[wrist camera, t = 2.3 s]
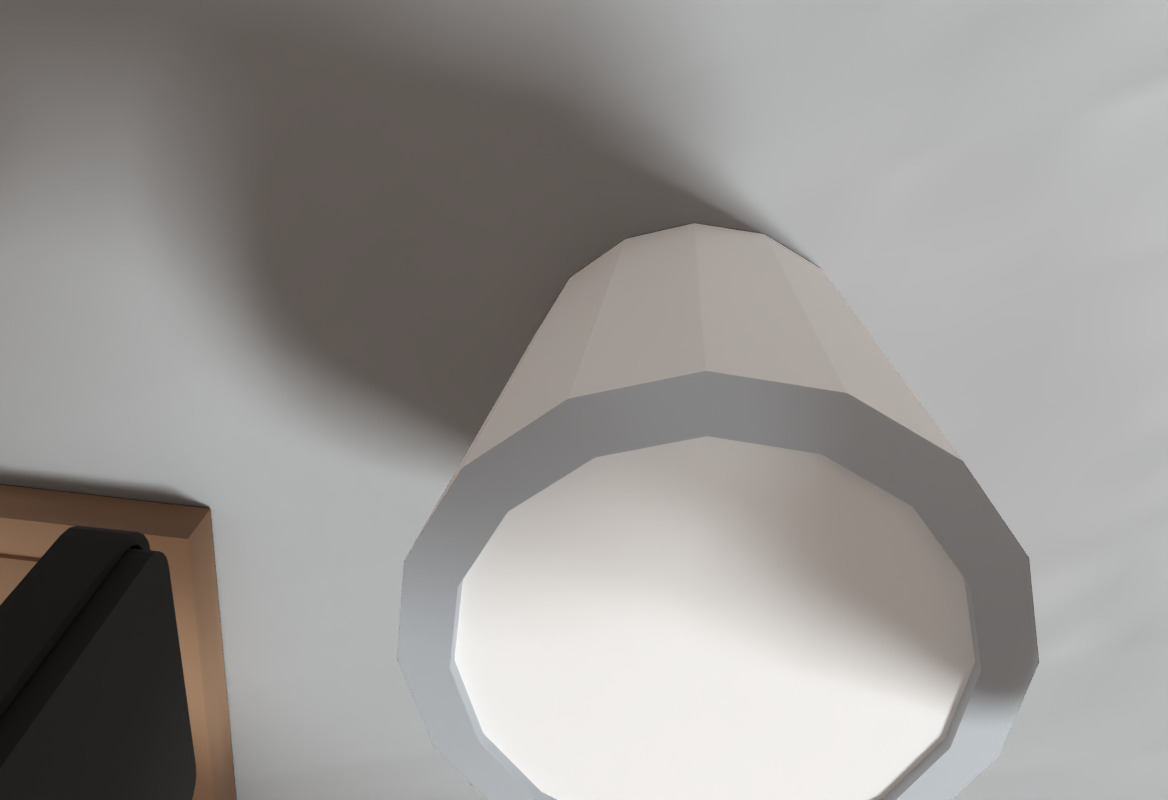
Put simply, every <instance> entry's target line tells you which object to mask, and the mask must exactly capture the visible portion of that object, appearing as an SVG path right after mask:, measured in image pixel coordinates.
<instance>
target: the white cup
mask: <svg viewBox="0 0 1168 800" xmlns="http://www.w3.org/2000/svg"><path fill="white" fill-rule="evenodd" d="M397 661H398V663H399V665H400V668H401V670H402V672H403V675H404V677H405V680H406V682H407V684H408V687H409V689H410V691H411V694H412V696H413V699H414V701H415V703H416V706H417V708H418V711H419V713H420V715H421V718H422V720H423V722H424V725H425V727H426V730H427V732H428V734H429V737H430V739H431V741H432V744H433V746H434V749H435V750H436V751H437V752H438V753H439V754H440V755H441V756H442V757H443V758H444V759H446V760H447V761H448V762H449V763H450V764H451V765H452V766H453V767H454V768H455V769H456V770H457V771H458V772H459V773H460V774H461V775H462V776H463V777H464V778H465V779H466V780H467V781H468V782H469V783H470V784H471V785H472V786H473V787H474V788H475V789H476V790H477V791H478V792H479V793H480V794H481V795H482V796H483V797H484V798H485V799H486V800H952V799H953V798H954V797H955V796H956V795H957V794H958V793H959V792H960V791H961V790H962V789H964V788H965V787H966V786H967V785H968V784H969V783H970V782H971V781H972V780H973V779H974V778H976V777H977V776H978V775H979V774H980V773H981V772H982V771H983V770H984V769H985V768H986V767H987V766H989V765H990V764H991V763H992V762H993V761H994V760H995V759H996V758H997V757H998V756H999V755H1000V752H1001V750H1002V748H1003V745H1004V743H1005V741H1006V738H1007V736H1008V734H1009V731H1010V729H1011V726H1012V724H1013V722H1014V719H1015V717H1016V715H1017V712H1018V710H1019V708H1020V705H1021V703H1022V701H1023V698H1024V696H1025V694H1026V691H1027V689H1028V687H1029V684H1030V682H1031V680H1032V677H1033V675H1034V673H1035V670H1036V668H1037V666H1038V663H1039V657H1038V647H1037V636H1036V626H1035V616H1034V605H1033V595H1032V584H1031V574H1030V564H1029V557H1028V556H1027V554H1026V553H1025V551H1024V550H1023V548H1022V547H1021V545H1020V544H1019V543H1018V541H1017V540H1016V538H1015V537H1014V535H1013V534H1012V532H1011V531H1010V529H1009V528H1008V526H1007V525H1006V523H1005V522H1004V521H1003V519H1002V518H1001V516H1000V515H999V513H998V512H997V510H996V509H995V507H994V506H993V504H992V503H991V502H990V500H989V499H988V497H987V496H986V494H985V493H984V491H983V490H982V488H981V487H980V485H979V484H978V483H977V481H976V480H975V478H974V477H973V475H972V474H971V472H970V471H969V469H968V468H967V466H966V465H965V463H964V462H963V461H962V459H961V458H960V456H959V455H958V454H957V452H956V451H955V450H954V448H953V447H952V446H951V444H950V443H949V441H948V440H947V439H946V437H945V436H944V435H943V433H942V432H941V431H940V429H939V428H938V426H937V425H936V424H935V422H934V421H933V420H932V418H931V417H930V415H929V414H928V413H927V411H926V410H925V409H924V407H923V406H922V405H921V403H920V402H919V400H918V399H917V398H916V396H915V395H914V394H913V392H912V391H911V390H910V388H909V387H908V385H907V384H906V383H905V381H904V380H903V379H902V377H901V376H900V374H899V373H898V372H897V370H896V369H895V368H894V366H893V365H892V364H891V362H890V361H889V359H888V358H887V357H886V355H885V354H884V353H883V351H882V350H881V349H880V347H879V346H878V344H877V343H876V342H875V340H874V339H873V338H872V336H871V335H870V333H869V332H868V331H867V329H866V328H865V327H864V325H863V324H862V323H861V321H860V320H859V318H858V317H857V316H856V314H855V313H854V312H853V310H852V309H851V308H850V306H849V305H848V303H847V302H846V301H845V299H844V298H843V297H842V295H841V294H840V292H839V291H838V290H837V288H836V287H835V286H834V284H833V283H832V282H831V280H830V279H829V277H828V276H827V275H826V273H825V272H824V271H823V270H822V269H821V268H819V267H817V266H816V265H814V264H813V263H811V262H809V261H808V260H806V259H804V258H803V257H801V256H799V255H798V254H796V253H795V252H793V251H791V250H790V249H788V248H786V247H785V246H783V245H781V244H780V243H778V242H777V241H775V240H773V239H772V238H770V237H768V236H767V235H765V234H760V233H754V232H748V231H741V230H735V229H728V228H722V227H716V226H709V225H703V224H696V223H693V224H688V225H684V226H680V227H675V228H671V229H666V230H662V231H658V232H653V233H649V234H645V235H640V236H636V237H631V238H627V239H624V240H623V241H622V242H620V243H619V244H617V245H616V246H614V247H613V248H612V249H610V250H609V251H607V252H606V253H604V254H603V255H602V256H600V257H599V258H597V259H596V260H594V261H593V262H592V263H590V264H589V265H587V266H586V267H584V268H583V269H582V270H580V271H579V272H577V273H576V274H574V275H573V276H572V277H570V278H569V280H568V282H567V283H566V285H565V286H564V288H563V290H562V291H561V293H560V295H559V296H558V298H557V299H556V301H555V303H554V304H553V306H552V308H551V309H550V311H549V312H548V314H547V316H546V317H545V319H544V320H543V322H542V324H541V325H540V327H539V329H538V330H537V332H536V334H535V335H534V337H533V339H532V340H531V342H530V344H529V346H528V347H527V349H526V351H525V353H524V354H523V356H522V358H521V360H520V361H519V363H518V365H517V366H516V368H515V370H514V372H513V373H512V375H511V377H510V379H509V380H508V382H507V384H506V385H505V387H504V389H503V391H502V392H501V394H500V396H499V398H498V399H497V401H496V403H495V405H494V406H493V408H492V410H491V411H490V413H489V415H488V417H487V418H486V420H485V422H484V424H483V425H482V427H481V429H480V430H479V432H478V434H477V436H476V437H475V439H474V441H473V443H472V444H471V446H470V448H469V450H468V451H467V453H466V455H465V456H464V458H463V460H462V462H461V463H460V465H459V467H458V469H457V470H456V472H455V474H454V475H453V477H452V479H451V481H450V482H449V484H448V486H447V488H446V489H445V491H444V493H443V494H442V496H441V498H440V500H439V501H438V503H437V505H436V507H435V508H434V510H433V512H432V514H431V515H430V517H429V519H428V520H427V522H426V524H425V526H424V527H423V529H422V531H421V533H420V534H419V536H418V538H417V539H416V541H415V543H414V545H413V546H412V548H411V550H410V552H409V553H408V555H407V557H406V559H405V560H404V570H403V583H402V597H401V611H400V625H399V639H398V653H397Z"/></svg>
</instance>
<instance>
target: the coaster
mask: <svg viewBox="0 0 1168 800" xmlns="http://www.w3.org/2000/svg"><path fill="white" fill-rule="evenodd" d="M73 526H86V527H96V528H105V529H115V530H124V531H134V532H139V533H142V534H144V535H145V537H146V538H147V540H148V542H149V545H150V549H151V550H152V551H160V552H162V553H164V554H165V556H166V557H167V560H168V564H169V571H170V578H171V585H172V593H173V600H174V607H175V615H176V622H177V630H178V637H179V644H180V652H181V659H182V666H183V674H184V681H185V689H186V696H187V703H188V711H189V718H190V725H191V733H192V740H193V747H194V755H195V762H196V785H195V790H194V795H193V798H192V800H237V799H236V788H235V777H234V766H233V755H232V744H231V732H230V721H229V710H228V699H227V688H226V677H225V665H224V654H223V643H222V632H221V621H220V610H219V598H218V587H217V576H216V565H215V554H214V543H213V532H212V520H211V509H208V508H199V507H191V506H182V505H173V504H164V503H156V502H147V501H138V500H130V499H121V498H112V497H104V496H95V495H86V494H77V493H69V492H60V491H51V490H43V489H34V488H25V487H16V486H8V485H0V605H1V604H2V603H3V601H4V600H5V599H6V598H7V597H8V596H9V594H10V593H11V592H12V591H13V590H14V589H15V587H16V586H17V585H18V584H19V583H20V582H21V580H22V579H23V578H24V577H25V576H26V575H27V573H28V572H29V571H30V570H31V569H32V568H33V567H34V565H35V564H36V563H37V562H38V561H39V560H40V558H41V557H42V556H43V555H44V554H45V553H46V551H47V550H48V549H49V548H50V547H51V546H52V544H53V543H54V542H55V541H56V540H57V539H58V538H59V536H60V535H61V534H62V533H64V532H65V531H66V530H67V529H68V528H70V527H73Z"/></svg>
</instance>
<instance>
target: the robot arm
mask: <svg viewBox="0 0 1168 800" xmlns="http://www.w3.org/2000/svg"><path fill="white" fill-rule="evenodd" d="M195 785H196V762H195V755H194V747H193V740H192V733H191V725H190V718H189V711H188V703H187V696H186V689H185V681H184V674H183V666H182V659H181V652H180V644H179V637H178V630H177V622H176V615H175V607H174V600H173V593H172V585H171V578H170V571H169V564H168V560H167V557H166V556H165V554H164V553H162V552H160V551H152V550H151V549H150V545H149V542H148V540H147V538H146V537H145V535H144V534H142V533H139V532H134V531H124V530H115V529H105V528H96V527H86V526H73V527H70V528H68V529H67V530H66V531H65V532H64V533H62V534H61V535H60V536H59V538H58V539H57V540H56V541H55V542H54V543H53V544H52V546H51V547H50V548H49V549H48V550H47V551H46V553H45V554H44V555H43V556H42V557H41V558H40V560H39V561H38V562H37V563H36V564H35V565H34V567H33V568H32V569H31V570H30V571H29V572H28V573H27V575H26V576H25V577H24V578H23V579H22V580H21V582H20V583H19V584H18V585H17V586H16V587H15V589H14V590H13V591H12V592H11V593H10V594H9V596H8V597H7V598H6V599H5V600H4V601H3V603H2V604H1V605H0V800H192V798H193V795H194V790H195Z"/></svg>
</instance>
